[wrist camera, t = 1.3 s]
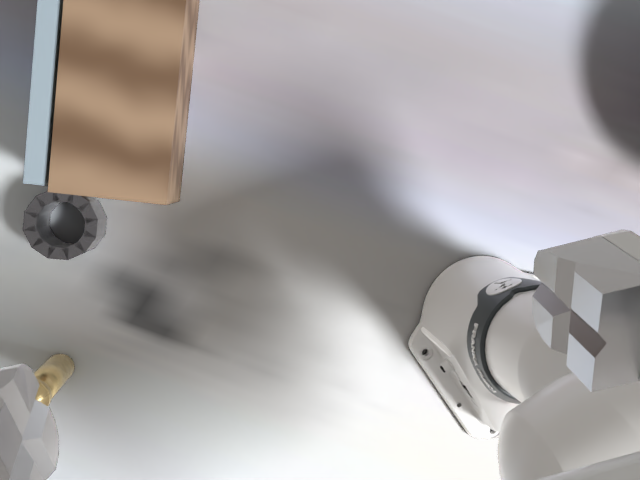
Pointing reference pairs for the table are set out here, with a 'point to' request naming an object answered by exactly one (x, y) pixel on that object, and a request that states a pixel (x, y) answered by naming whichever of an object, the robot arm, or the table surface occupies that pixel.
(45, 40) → the cabinet door
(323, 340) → the table surface
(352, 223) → the table surface
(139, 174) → the cabinet
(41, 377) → the hinge pin
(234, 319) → the table surface
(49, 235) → the grey hollow ring
